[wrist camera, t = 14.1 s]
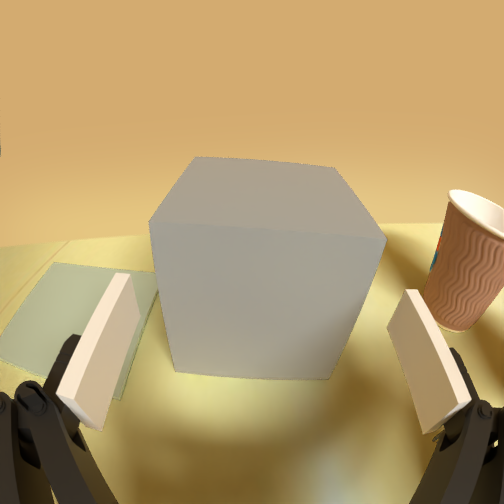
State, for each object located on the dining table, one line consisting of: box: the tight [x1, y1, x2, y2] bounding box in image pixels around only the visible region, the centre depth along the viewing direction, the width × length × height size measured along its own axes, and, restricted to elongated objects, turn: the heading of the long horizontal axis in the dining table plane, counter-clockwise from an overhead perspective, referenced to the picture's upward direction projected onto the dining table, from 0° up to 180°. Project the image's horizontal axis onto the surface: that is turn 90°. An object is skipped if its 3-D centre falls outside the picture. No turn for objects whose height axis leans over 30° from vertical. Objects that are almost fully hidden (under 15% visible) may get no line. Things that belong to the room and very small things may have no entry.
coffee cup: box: [423, 190, 504, 333], centre depth 23 cm, size 10×10×12 cm
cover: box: [149, 157, 387, 380], centre depth 21 cm, size 11×11×12 cm
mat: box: [0, 262, 158, 400], centre depth 22 cm, size 14×14×1 cm
